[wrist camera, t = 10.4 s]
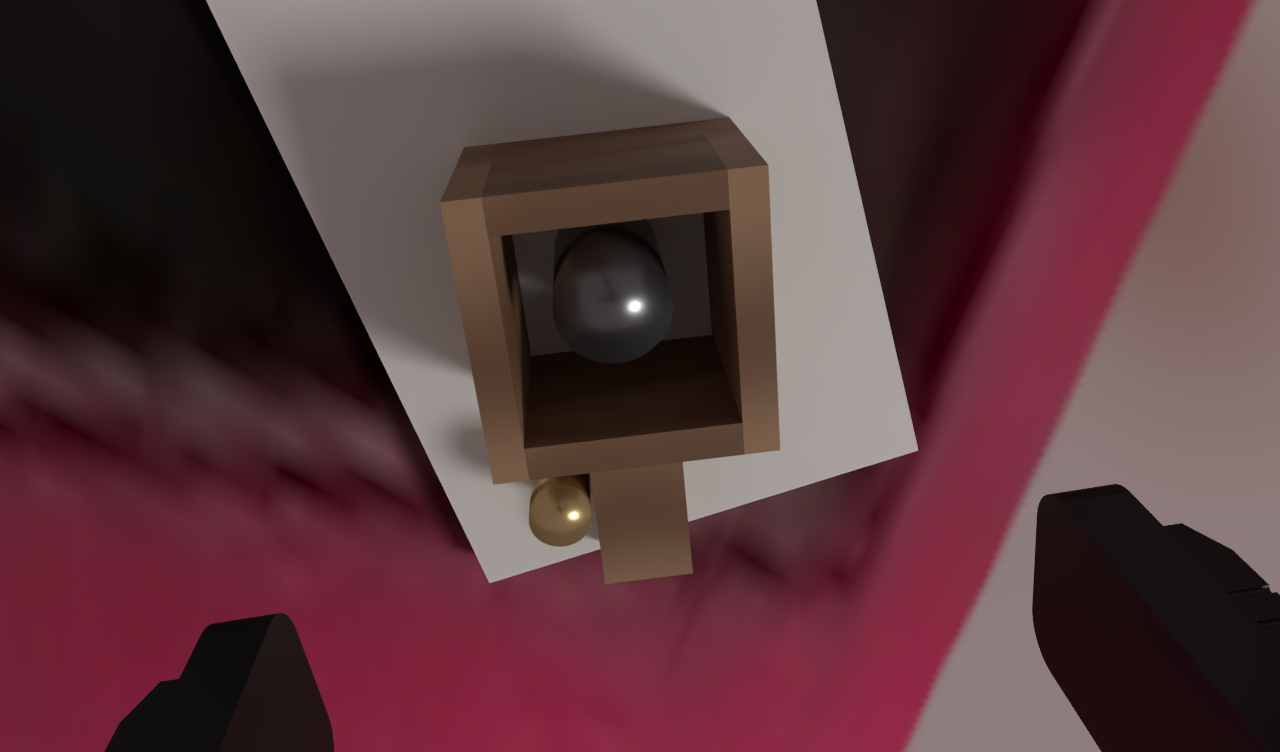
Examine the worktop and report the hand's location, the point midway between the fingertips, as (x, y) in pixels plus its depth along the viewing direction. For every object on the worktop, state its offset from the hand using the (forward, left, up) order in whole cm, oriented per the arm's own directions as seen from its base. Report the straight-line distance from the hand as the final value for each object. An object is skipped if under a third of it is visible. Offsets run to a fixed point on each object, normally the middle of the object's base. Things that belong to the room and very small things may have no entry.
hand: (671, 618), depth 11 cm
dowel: (+6, -4, -15) cm, 17 cm away
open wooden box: (+4, -1, -15) cm, 16 cm away
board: (+1, 0, -17) cm, 17 cm away
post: (+1, 0, -15) cm, 15 cm away
